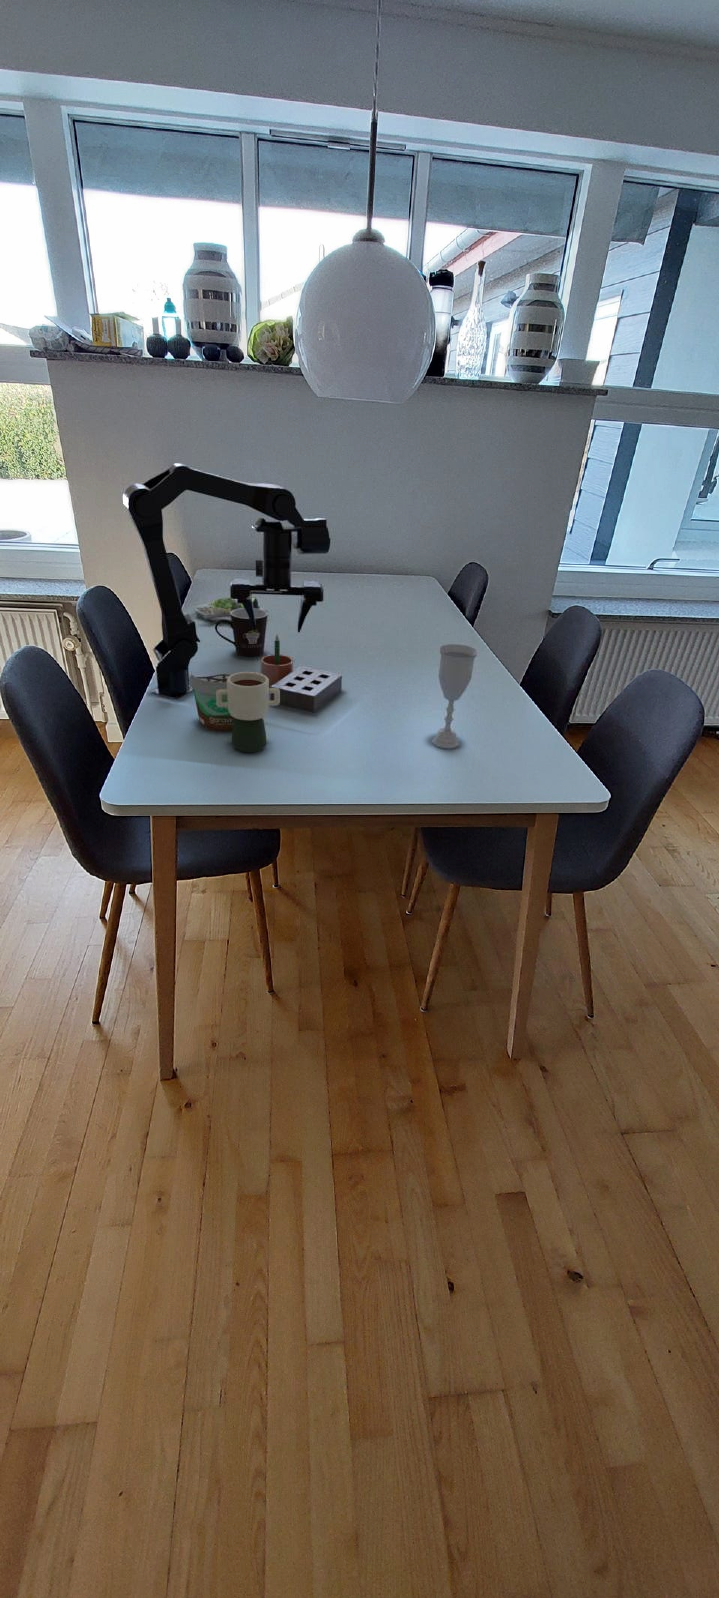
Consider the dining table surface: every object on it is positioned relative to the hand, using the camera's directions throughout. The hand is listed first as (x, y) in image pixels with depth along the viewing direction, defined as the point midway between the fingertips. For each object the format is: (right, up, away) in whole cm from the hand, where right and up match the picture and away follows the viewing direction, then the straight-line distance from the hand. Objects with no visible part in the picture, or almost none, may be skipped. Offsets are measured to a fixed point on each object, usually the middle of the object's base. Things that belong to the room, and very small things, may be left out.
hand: (276, 631), depth 145 cm
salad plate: (-18, +16, +47) cm, 53 cm away
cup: (-1, -10, +6) cm, 12 cm away
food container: (-8, -22, -15) cm, 28 cm away
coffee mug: (-10, -1, +20) cm, 23 cm away
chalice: (+34, -25, -14) cm, 44 cm away
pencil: (-1, -9, +6) cm, 11 cm away
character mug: (-2, -26, -21) cm, 34 cm away
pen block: (+6, -14, -1) cm, 16 cm away
